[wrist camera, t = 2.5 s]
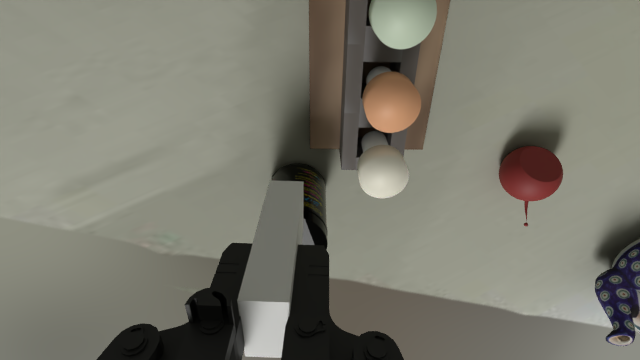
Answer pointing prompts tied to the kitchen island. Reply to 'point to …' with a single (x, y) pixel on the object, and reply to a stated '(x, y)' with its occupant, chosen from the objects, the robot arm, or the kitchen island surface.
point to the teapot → (622, 295)
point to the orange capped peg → (390, 100)
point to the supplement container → (309, 201)
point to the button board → (362, 76)
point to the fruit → (530, 174)
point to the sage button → (402, 21)
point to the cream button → (381, 167)
